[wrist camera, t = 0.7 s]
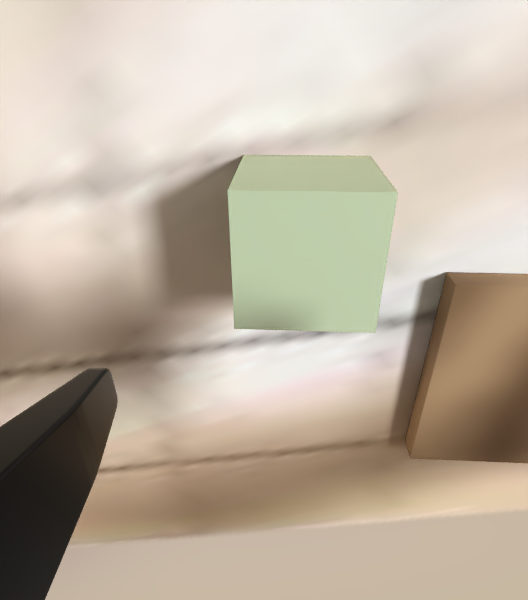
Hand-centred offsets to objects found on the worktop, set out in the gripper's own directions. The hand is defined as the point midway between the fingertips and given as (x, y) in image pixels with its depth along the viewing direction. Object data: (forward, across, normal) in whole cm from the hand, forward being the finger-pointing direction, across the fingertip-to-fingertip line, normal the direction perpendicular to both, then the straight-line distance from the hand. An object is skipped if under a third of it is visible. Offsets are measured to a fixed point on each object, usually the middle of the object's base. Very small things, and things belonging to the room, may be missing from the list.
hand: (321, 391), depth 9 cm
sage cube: (+11, 0, 0) cm, 11 cm away
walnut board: (+11, -12, +8) cm, 18 cm away
